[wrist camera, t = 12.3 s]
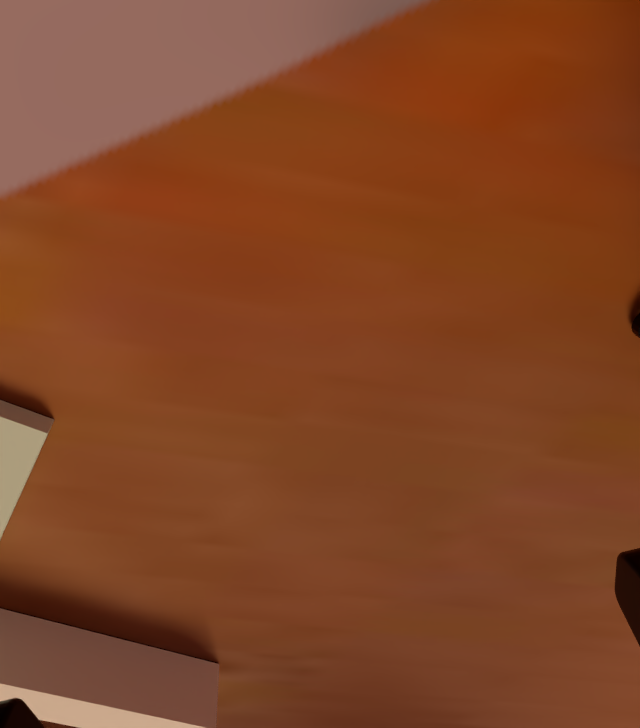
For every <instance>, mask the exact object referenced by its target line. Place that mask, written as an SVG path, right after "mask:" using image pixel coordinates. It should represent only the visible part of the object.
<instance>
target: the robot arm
mask: <svg viewBox="0 0 640 728" xmlns="http://www.w3.org/2000/svg"><path fill="white" fill-rule="evenodd" d="M632 331H633V333H634V334H635V335H636V336H638V337H639V338H640V313H639V314H638V316H637V317H636V318H635V320H634V321H633V323H632ZM615 594H616V598H617V601H618V603H619V605H620V608H621V610H622V612H623V614H624V616H625V618H626V620H627V622H628V624H629V626H630V628H631V630H632V632H633V634H634V636H635V638H636V640H637V642H638V644H639V646H640V548H638V549H633V550H629V551H625V552H622V553H620V554H619V556H618V557H617V565H616V577H615ZM0 728H44V726H43V724H42V723H41V722H40V720H39V719H38V718H37V717H36V715H35V714H34V713H33V712H32V711H31V709H30V708H29V707H28V706H27V705H26V703H25V702H24V701H23V700H22V699H19V698H12V699H8V700H4V701H0Z"/></svg>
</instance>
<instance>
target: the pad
mask: <svg viewBox="0 0 640 728" xmlns="http://www.w3.org/2000/svg"><path fill="white" fill-rule="evenodd" d="M53 422H54V419H51V418H49V417H46V416H43V415H40V414H38V413H35V412H32V411H30V410H27V409H24V408H21V407H19V406H16V405H13V404H10V403H8V402H5V401H2V400H0V539H1V537H2V534H3V532H4V530H5V528H6V526H7V523H8V521H9V519H10V517H11V515H12V512H13V510H14V508H15V506H16V504H17V501H18V499H19V497H20V495H21V492H22V490H23V488H24V486H25V484H26V481H27V479H28V477H29V475H30V473H31V470H32V468H33V466H34V464H35V462H36V459H37V457H38V455H39V453H40V451H41V448H42V446H43V444H44V442H45V440H46V437H47V435H48V433H49V431H50V429H51V426H52V424H53Z"/></svg>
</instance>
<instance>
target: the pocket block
mask: <svg viewBox="0 0 640 728" xmlns="http://www.w3.org/2000/svg"><path fill="white" fill-rule="evenodd" d="M218 679H219V664H217V663H213V662H209V661H205V660H201V659H198V658H194V657H190V656H186V655H182V654H178V653H174V652H170V651H166V650H162V649H158V648H154V647H150V646H146V645H142V644H139V643H135V642H131V641H127V640H123V639H119V638H115V637H111V636H107V635H103V634H99V633H95V632H91V631H87V630H84V629H80V628H76V627H72V626H68V625H64V624H60V623H56V622H52V621H48V620H44V619H40V618H36V617H32V616H29V615H25V614H21V613H17V612H13V611H9V610H5V609H1V608H0V701H4V700H8V699H12V698H19V699H22V700H23V701H24V702H25V703H26V705H27V706H28V707H29V708H30V709H31V711H32V712H33V713H34V714H35V715H36V717H37V718H38V719H39V720H43V721H48V722H53V723H58V724H63V725H68V726H73V727H78V728H216V721H217V700H218Z"/></svg>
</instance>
